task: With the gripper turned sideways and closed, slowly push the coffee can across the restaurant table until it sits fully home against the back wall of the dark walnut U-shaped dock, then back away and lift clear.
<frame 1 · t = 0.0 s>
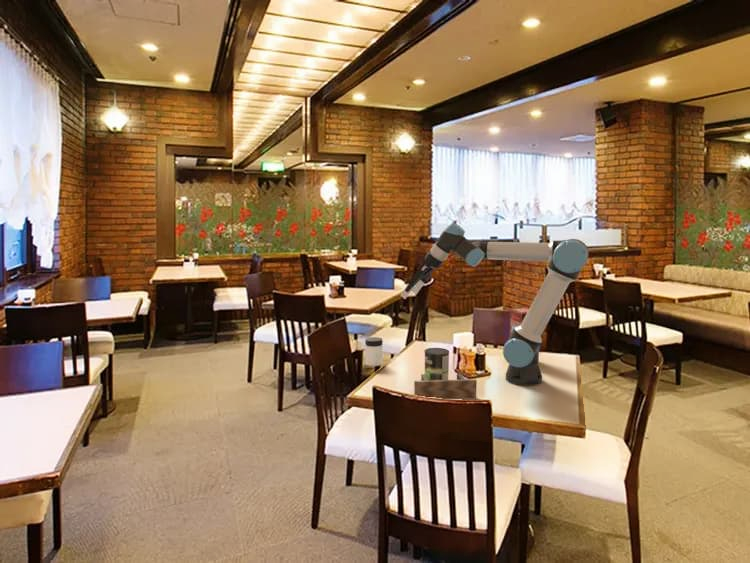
hand: (408, 294, 229), 36 cm above the table, tool tilted 35°, fingers open, 13 cm apart
coffee can: (436, 383, 223), on the table
jar: (373, 364, 251), on the table
walnut dock: (441, 392, 212), on the table
food packaging: (523, 361, 255), on the table
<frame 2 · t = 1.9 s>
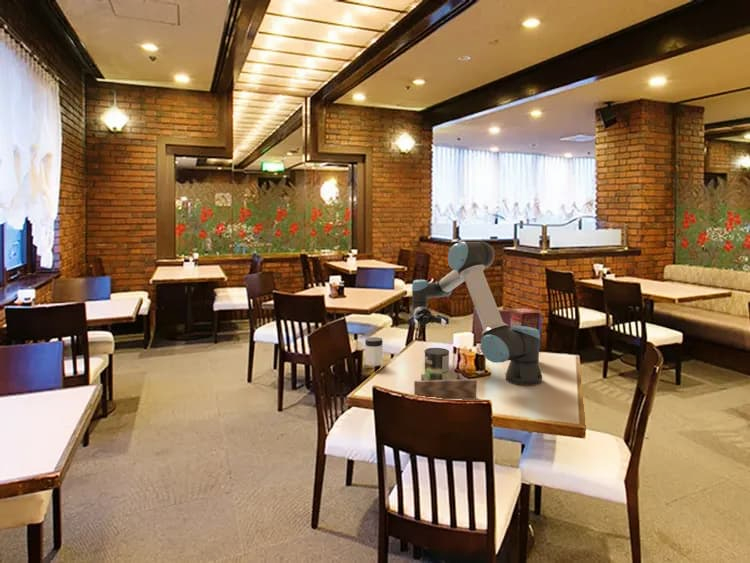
hand: (431, 325, 233), 22 cm above the table, tool horizontal, fingers open, 12 cm apart
nothing on the table moved.
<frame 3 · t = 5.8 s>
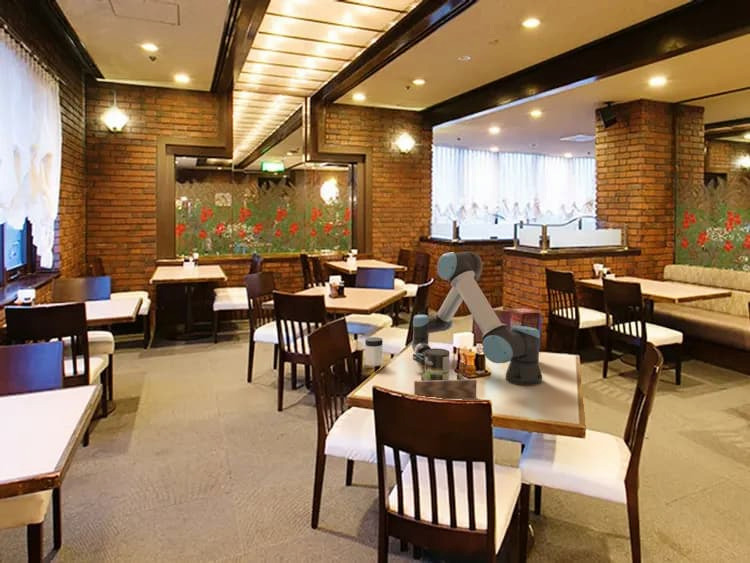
hand: (433, 367, 226), 6 cm above the table, tool horizontal, fingers closed
coffee can: (436, 384, 221), on the table, touching gripper
everything else where it was.
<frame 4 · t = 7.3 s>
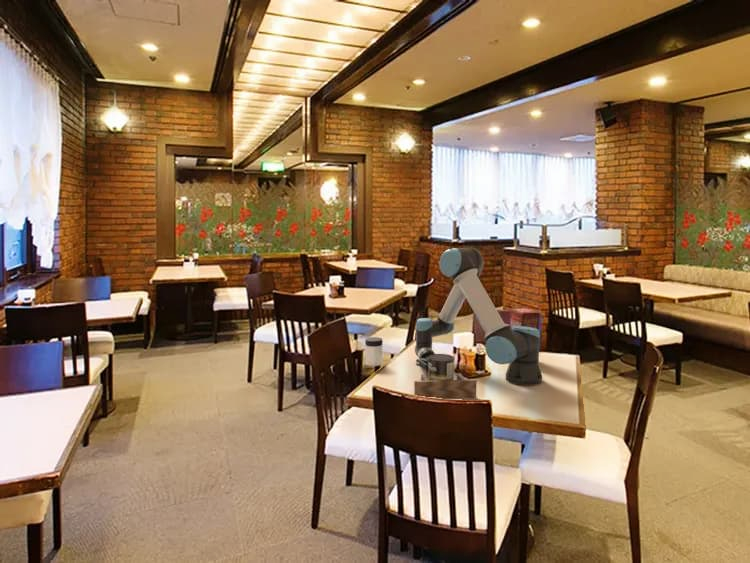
hand: (437, 373, 217), 6 cm above the table, tool horizontal, fingers closed
coffee can: (440, 391, 213), on the table, touching gripper
everything else where it was.
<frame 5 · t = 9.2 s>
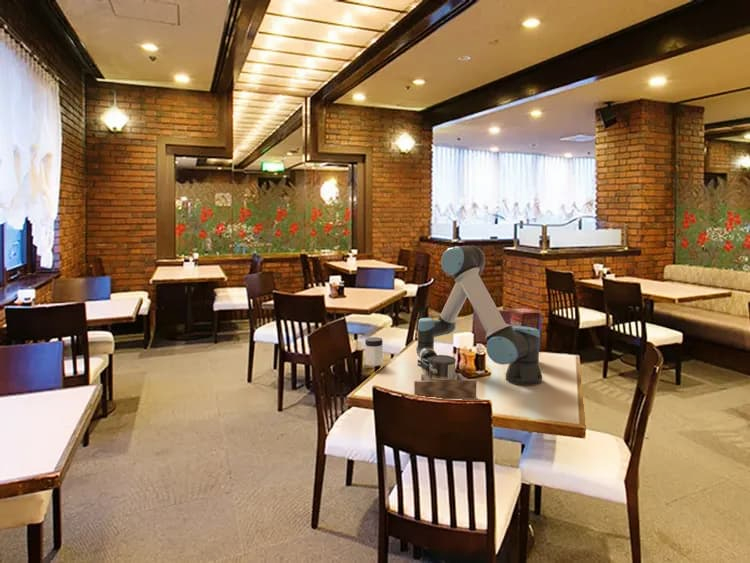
hand: (438, 374, 215), 6 cm above the table, tool horizontal, fingers closed
coffee can: (441, 393, 211), on the table, touching gripper, walnut dock
everything else where it was.
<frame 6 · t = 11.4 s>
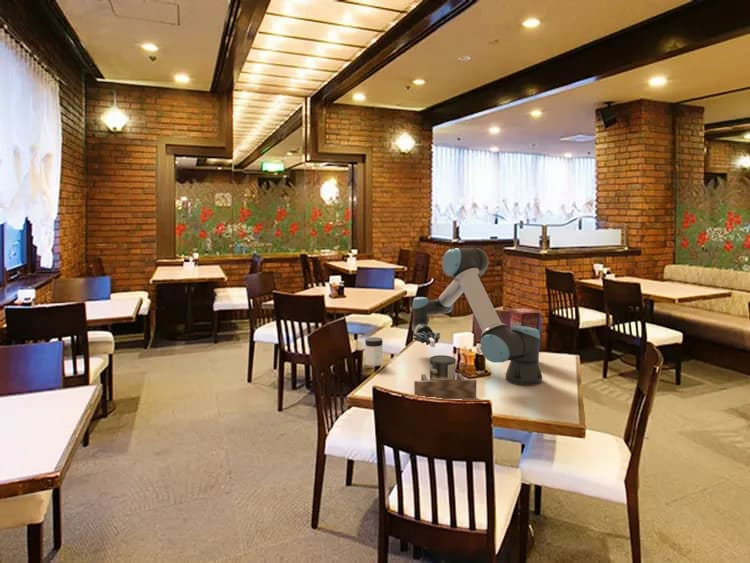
hand: (433, 343, 231), 14 cm above the table, tool horizontal, fingers closed
coffee can: (442, 393, 211), on the table
everything else where it was.
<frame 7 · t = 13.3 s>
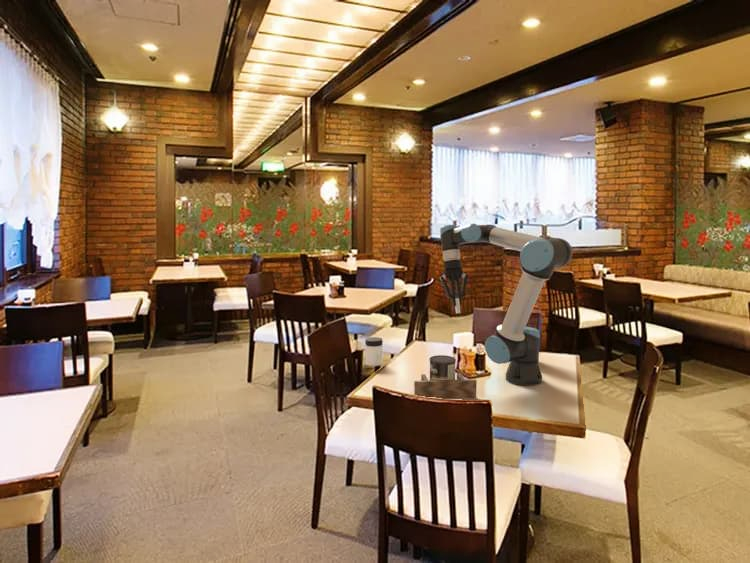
hand: (458, 313, 233), 27 cm above the table, tool pointing down, fingers closed
nothing on the table moved.
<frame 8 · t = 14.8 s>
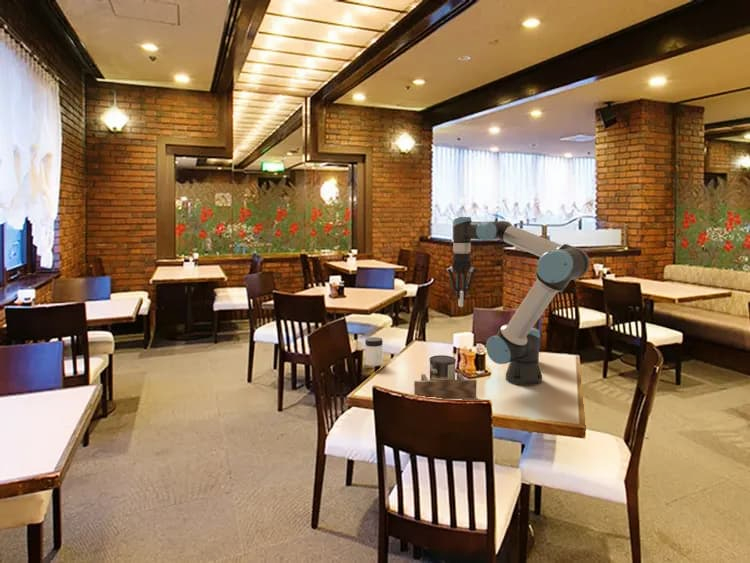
hand: (460, 306, 232), 30 cm above the table, tool pointing down, fingers closed
nothing on the table moved.
at the end: coffee can 0.5 cm from the target spot, on the table; coffee can tilted 0°; the gripper is holding nothing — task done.
